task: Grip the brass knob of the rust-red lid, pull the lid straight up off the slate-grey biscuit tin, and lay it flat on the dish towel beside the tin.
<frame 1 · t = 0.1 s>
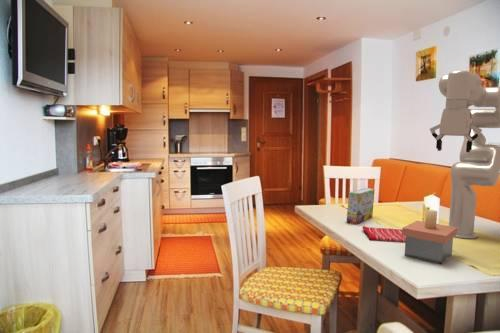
hand: (453, 151, 144), 37 cm above the table, tool pointing down, fingers open, 9 cm apart
tin: (428, 255, 136), on the table
lid: (430, 230, 136), point 9 cm above the table, touching tin
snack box: (360, 220, 189), on the table
dish towel: (393, 238, 160), on the table
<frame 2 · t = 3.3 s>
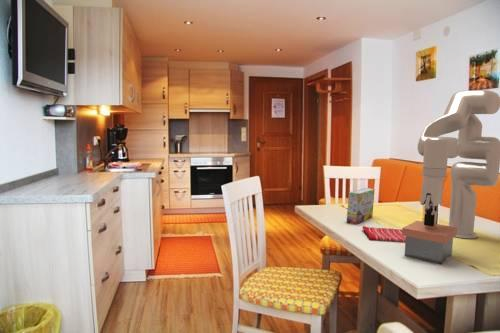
hand: (430, 224, 135), 11 cm above the table, tool pointing down, fingers closed on lid, 3 cm apart
lid: (430, 230, 136), point 9 cm above the table, touching gripper, tin
everything else where it was.
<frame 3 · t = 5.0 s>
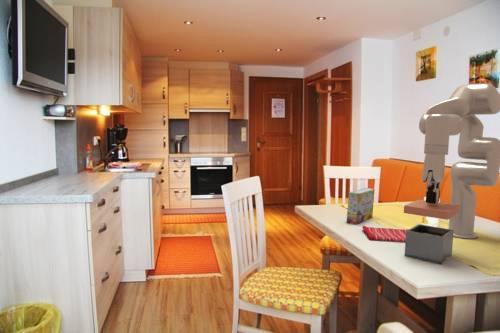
hand: (432, 201, 135), 19 cm above the table, tool pointing down, fingers closed on lid, 3 cm apart
lid: (432, 208, 135), point 17 cm above the table, touching gripper
everything else where it was.
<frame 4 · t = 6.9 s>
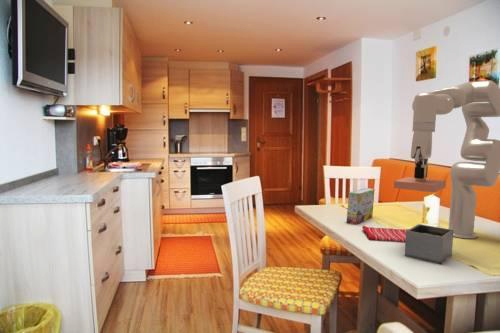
hand: (420, 177, 142), 27 cm above the table, tool pointing down, fingers closed on lid, 3 cm apart
lid: (420, 183, 142), point 25 cm above the table, touching gripper
everything else where it was.
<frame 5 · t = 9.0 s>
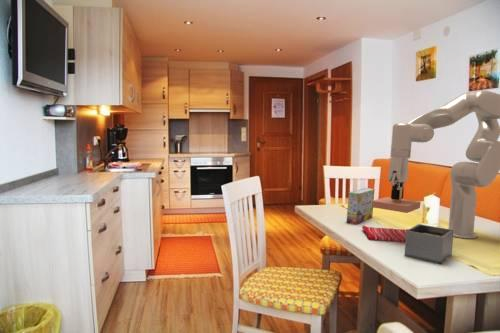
hand: (396, 198, 157), 16 cm above the table, tool pointing down, fingers closed on lid, 3 cm apart
lid: (396, 203, 157), point 14 cm above the table, touching gripper
everything else where it was.
when the fingers open (9 cm above the table, at t = 10.7 s): lid drops 3 cm, resting on dish towel.
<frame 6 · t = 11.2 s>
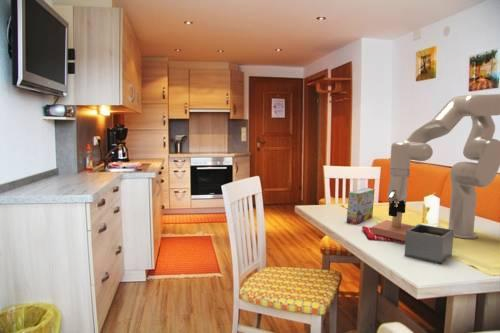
hand: (396, 214, 158), 10 cm above the table, tool pointing down, fingers open, 9 cm apart
lid: (395, 229, 158), point 3 cm above the table, touching dish towel
dish towel: (392, 238, 160), on the table, touching lid
everything else where it was.
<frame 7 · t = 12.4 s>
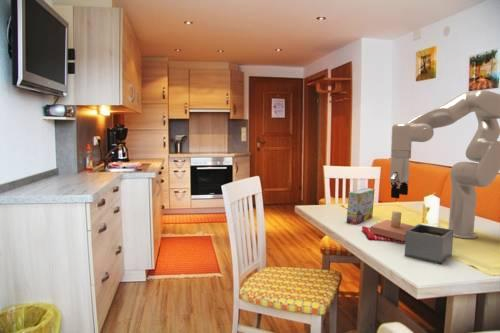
hand: (399, 196, 157), 17 cm above the table, tool pointing down, fingers open, 9 cm apart
lid: (395, 229, 159), point 3 cm above the table
dish towel: (392, 238, 160), on the table
everything else where it was.
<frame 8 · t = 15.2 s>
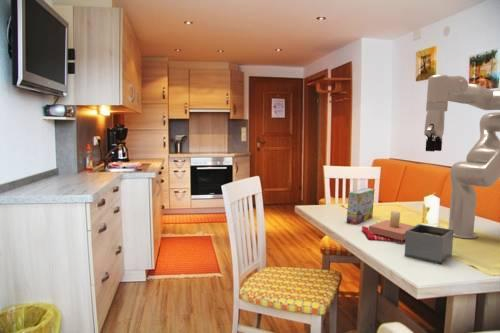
hand: (433, 151, 152), 36 cm above the table, tool pointing down, fingers open, 9 cm apart
nothing on the table moved.
at the end: lid inside the target area on the dish towel (0.8 cm from its centre), point 4.4 cm above the dish towel's base; lid tilted 1°; the gripper is holding nothing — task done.
